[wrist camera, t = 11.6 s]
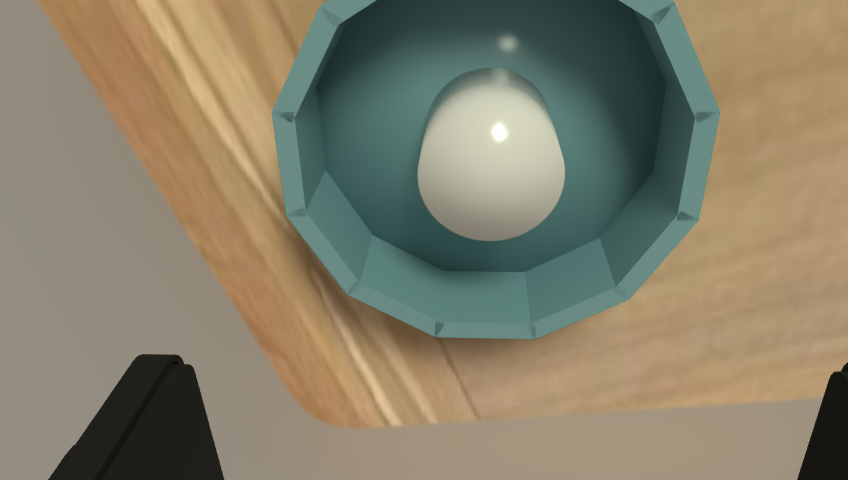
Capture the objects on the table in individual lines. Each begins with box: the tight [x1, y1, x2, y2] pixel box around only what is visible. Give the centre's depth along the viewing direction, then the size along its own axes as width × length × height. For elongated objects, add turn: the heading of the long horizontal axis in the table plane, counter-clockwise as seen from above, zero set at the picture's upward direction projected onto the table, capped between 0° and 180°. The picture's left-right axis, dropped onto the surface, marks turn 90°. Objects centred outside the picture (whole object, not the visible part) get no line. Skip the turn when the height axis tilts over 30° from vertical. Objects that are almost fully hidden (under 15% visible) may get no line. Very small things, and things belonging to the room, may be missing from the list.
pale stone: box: [418, 68, 565, 241], centre depth 26 cm, size 5×5×5 cm
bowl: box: [272, 0, 720, 339], centre depth 27 cm, size 16×16×5 cm
